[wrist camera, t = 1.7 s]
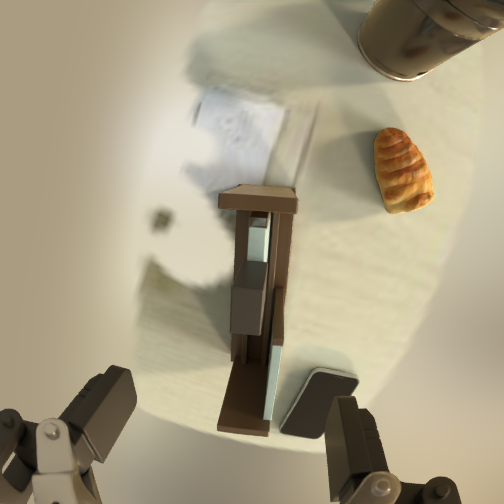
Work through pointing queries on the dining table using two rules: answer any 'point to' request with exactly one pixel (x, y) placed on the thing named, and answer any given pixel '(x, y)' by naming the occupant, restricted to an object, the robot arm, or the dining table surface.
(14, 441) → the robot arm
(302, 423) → the smartphone
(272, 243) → the window frame
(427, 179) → the pastry
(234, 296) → the sash
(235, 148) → the dining table surface
